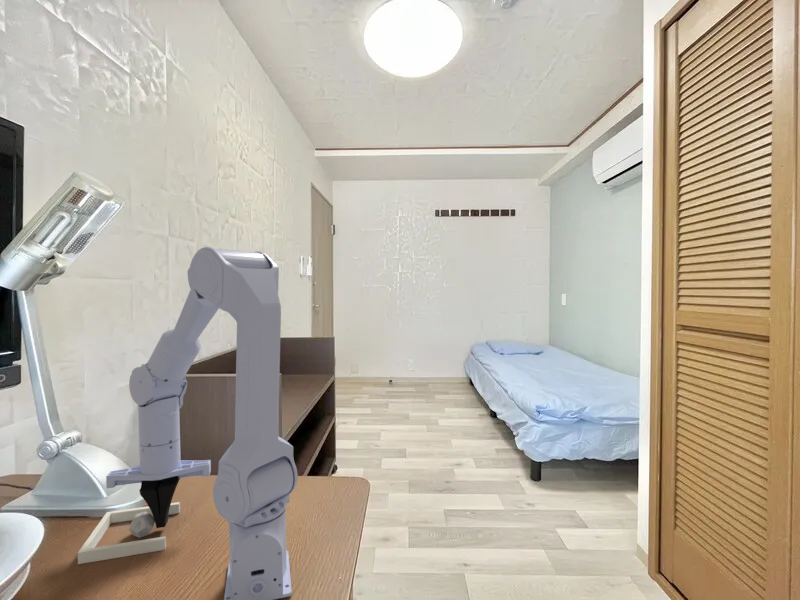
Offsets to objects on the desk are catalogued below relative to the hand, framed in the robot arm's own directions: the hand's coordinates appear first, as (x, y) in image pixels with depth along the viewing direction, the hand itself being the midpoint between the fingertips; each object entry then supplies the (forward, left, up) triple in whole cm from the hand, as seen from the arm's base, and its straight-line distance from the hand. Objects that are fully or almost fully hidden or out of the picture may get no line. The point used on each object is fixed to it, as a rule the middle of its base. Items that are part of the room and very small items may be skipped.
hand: (162, 524), depth 70 cm
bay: (0, +4, -1) cm, 4 cm away
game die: (0, +3, -1) cm, 3 cm away
